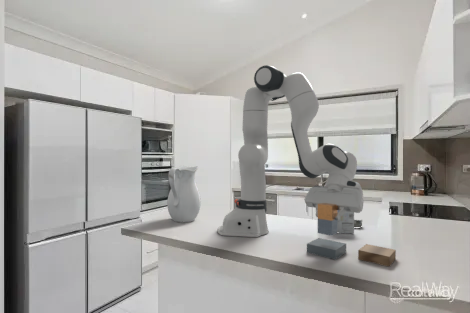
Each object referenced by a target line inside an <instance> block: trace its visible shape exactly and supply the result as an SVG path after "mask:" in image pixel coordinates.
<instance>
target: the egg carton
mask: <svg viewBox="0 0 470 313" xmlns="http://www.w3.org/2000/svg"><path fill="white" fill-rule="evenodd" d="M361 226H362V227H363V219H354V227H361ZM362 227H361V228H362Z"/></svg>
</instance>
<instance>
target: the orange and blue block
mask: <svg viewBox="0 0 470 313" xmlns="http://www.w3.org/2000/svg"><path fill="white" fill-rule="evenodd" d="M337 208H338V206H337V204H328V203H320V204H318V217H317V234H322V235H328V236H331V237H332V236H335V235H336V234H338V233H337V220H334V214H335V213H337Z"/></svg>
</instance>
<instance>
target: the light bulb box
mask: <svg viewBox="0 0 470 313" xmlns="http://www.w3.org/2000/svg"><path fill="white" fill-rule="evenodd" d="M338 212H339V211H338V210H337V213H338ZM354 220H355V212H347V211H346V212H345V214H344V215H342V216H341V217H340V219H339V220H337V232H340V233H339V234H346V233H354V234H355V228H354Z"/></svg>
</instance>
